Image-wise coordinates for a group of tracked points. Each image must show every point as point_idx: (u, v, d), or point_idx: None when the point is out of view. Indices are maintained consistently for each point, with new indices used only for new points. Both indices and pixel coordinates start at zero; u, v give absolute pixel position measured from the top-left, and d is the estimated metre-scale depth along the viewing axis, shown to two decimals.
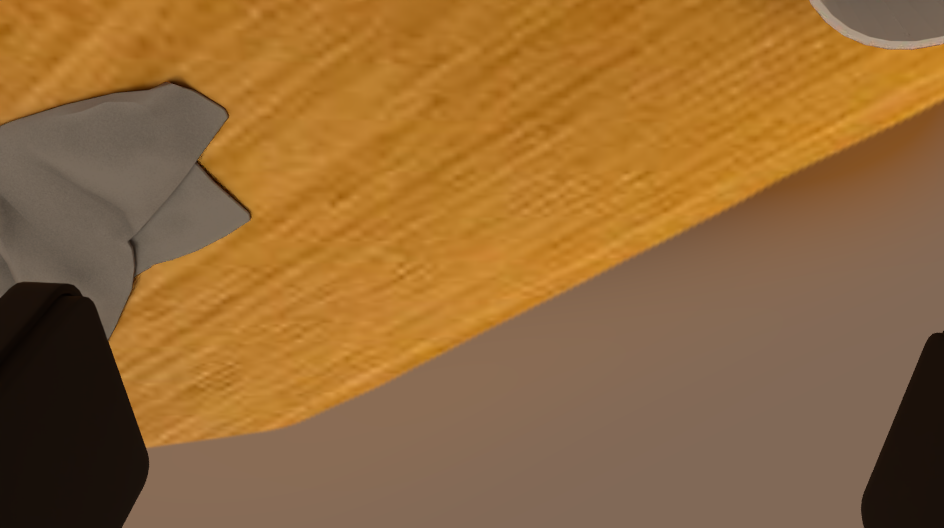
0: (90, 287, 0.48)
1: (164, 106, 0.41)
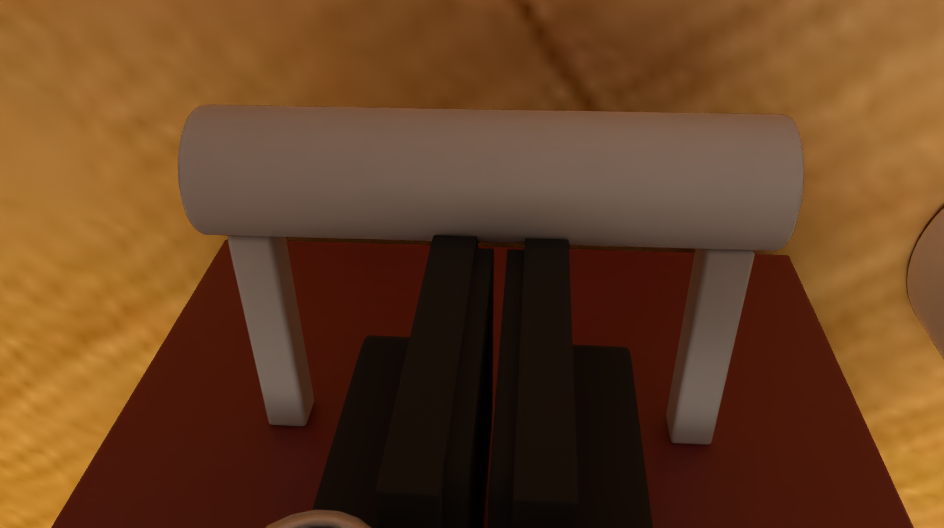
0: None
1: None
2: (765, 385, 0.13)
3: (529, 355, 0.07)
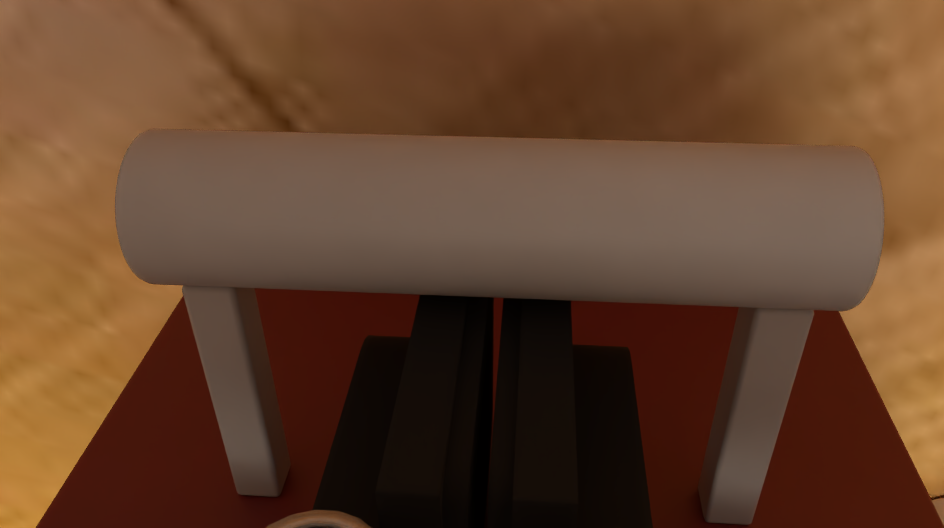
0: None
1: None
2: (811, 449, 0.11)
3: (529, 355, 0.07)
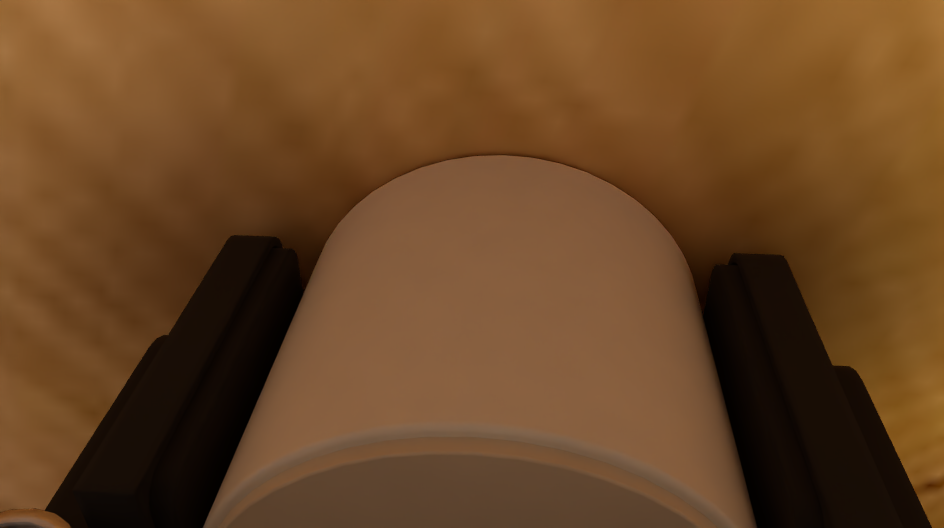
0: None
1: None
2: None
3: (791, 379, 0.07)
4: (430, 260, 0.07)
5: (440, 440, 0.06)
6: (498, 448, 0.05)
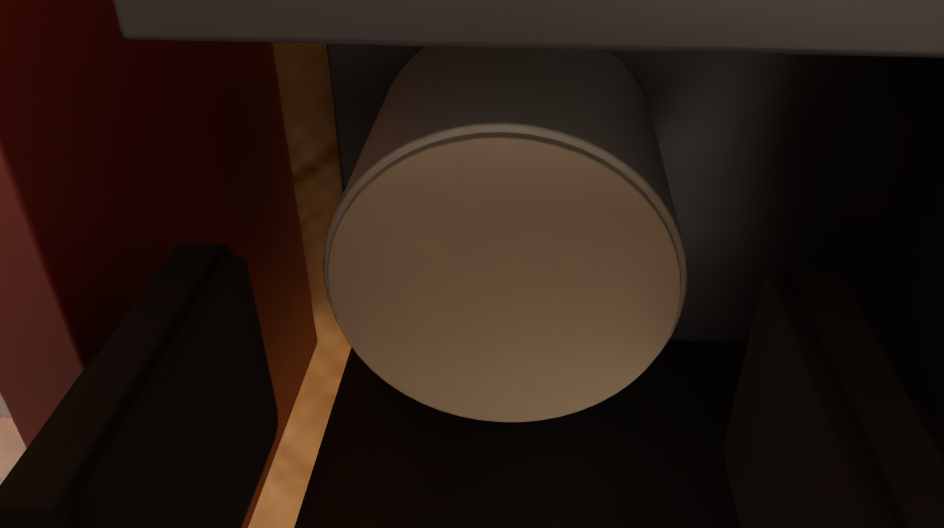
0: None
1: None
2: None
3: (859, 397, 0.07)
4: (472, 64, 0.11)
5: (484, 135, 0.10)
6: (518, 136, 0.09)
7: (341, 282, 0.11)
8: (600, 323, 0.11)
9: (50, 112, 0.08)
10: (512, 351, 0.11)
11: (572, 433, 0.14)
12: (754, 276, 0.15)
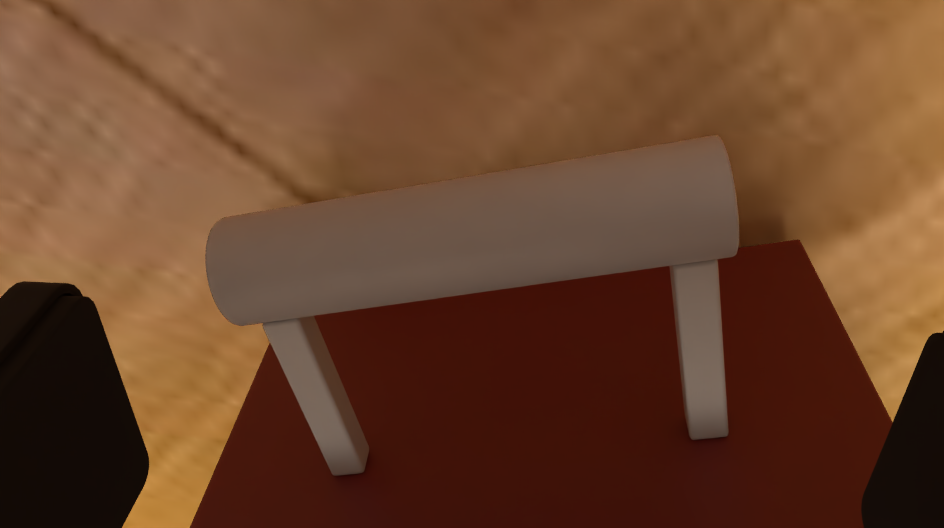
0: None
1: None
2: (779, 371, 0.13)
3: None
4: None
5: None
6: None
7: None
8: None
9: None
10: None
11: None
12: None
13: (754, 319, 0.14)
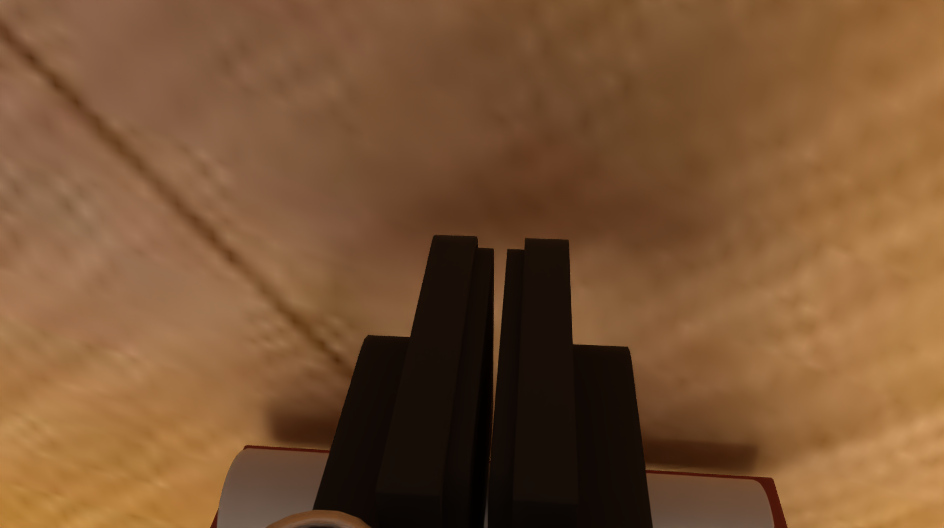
0: None
1: None
2: None
3: (529, 355, 0.07)
4: None
5: None
6: None
7: None
8: None
9: None
10: None
11: None
12: None
13: None
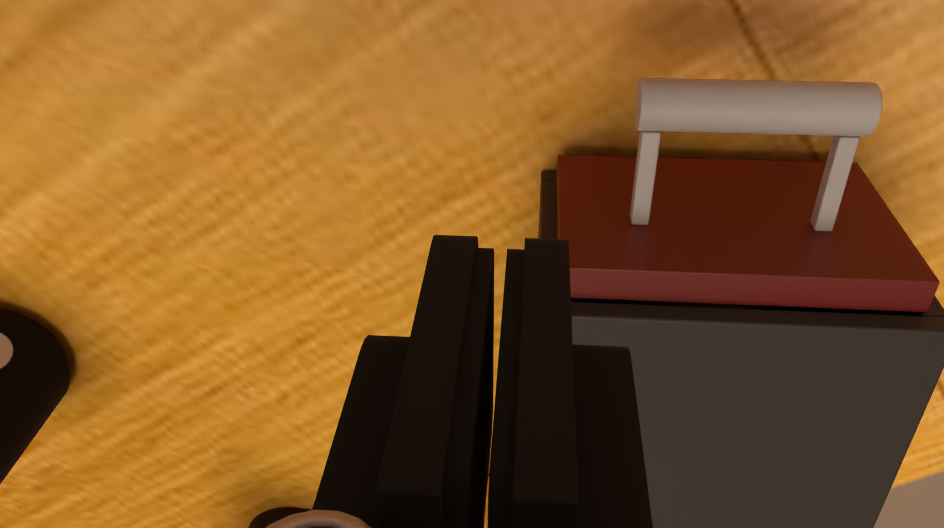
0: None
1: None
2: (853, 212, 0.27)
3: (529, 355, 0.07)
4: None
5: None
6: None
7: None
8: None
9: None
10: None
11: None
12: None
13: None
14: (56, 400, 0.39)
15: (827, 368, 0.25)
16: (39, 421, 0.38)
